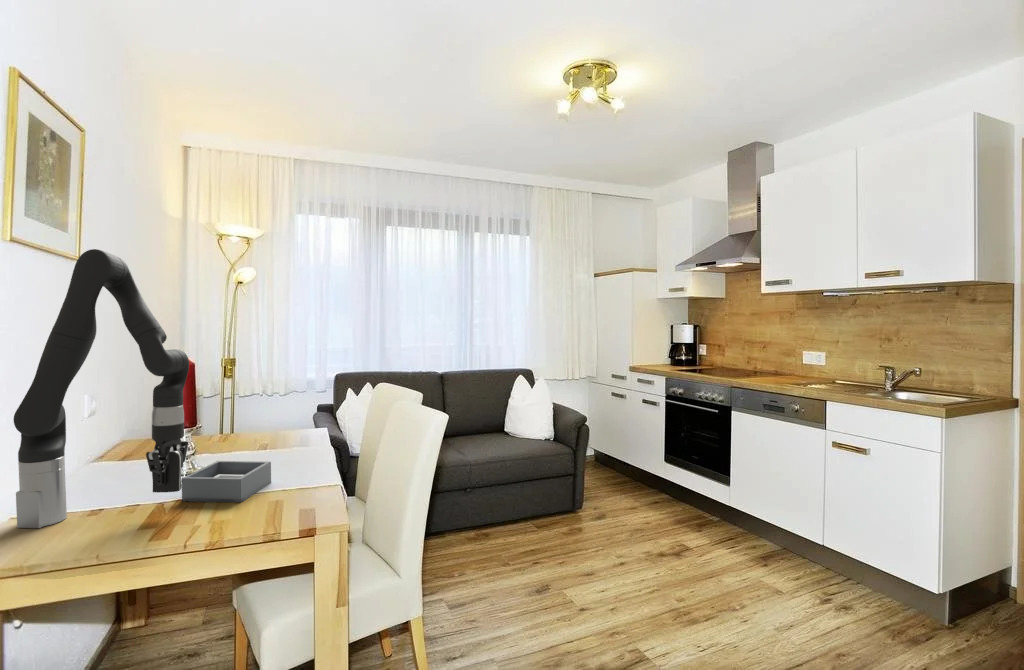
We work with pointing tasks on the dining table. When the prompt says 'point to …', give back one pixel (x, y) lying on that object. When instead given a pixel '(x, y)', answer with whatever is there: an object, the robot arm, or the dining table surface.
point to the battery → (171, 474)
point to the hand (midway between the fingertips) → (168, 482)
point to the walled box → (226, 481)
